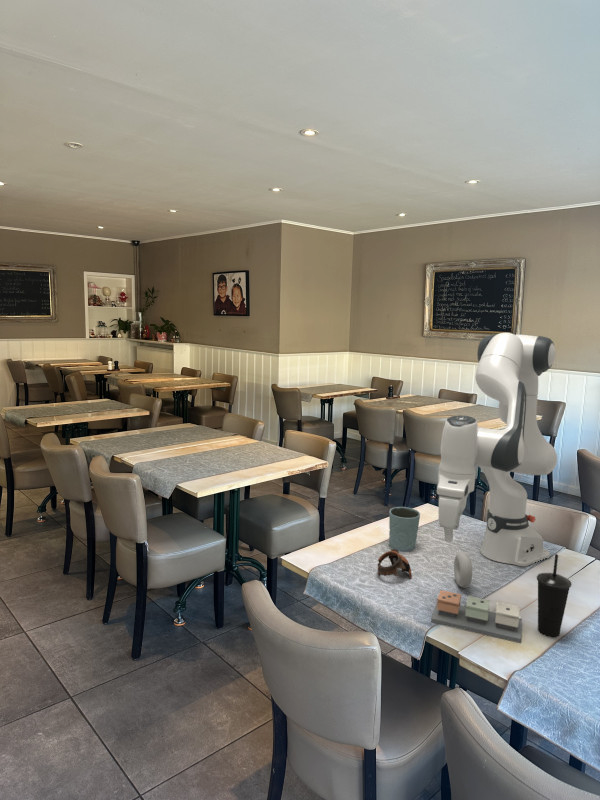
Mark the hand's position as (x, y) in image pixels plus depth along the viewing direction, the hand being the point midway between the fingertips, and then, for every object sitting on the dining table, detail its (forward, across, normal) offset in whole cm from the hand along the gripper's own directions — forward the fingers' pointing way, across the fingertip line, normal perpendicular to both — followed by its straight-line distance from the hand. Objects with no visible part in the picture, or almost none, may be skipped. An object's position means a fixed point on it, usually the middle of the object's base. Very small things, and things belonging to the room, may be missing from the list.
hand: (451, 534), depth 140 cm
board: (+21, 0, +8) cm, 23 cm away
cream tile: (+19, 0, +15) cm, 24 cm away
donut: (+21, -18, +2) cm, 28 cm away
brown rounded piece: (+21, -16, -18) cm, 32 cm away
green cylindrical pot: (+21, -37, -20) cm, 47 cm away
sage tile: (+19, 0, +8) cm, 20 cm away
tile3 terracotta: (+19, 0, +1) cm, 19 cm away
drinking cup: (+21, -4, +24) cm, 33 cm away
